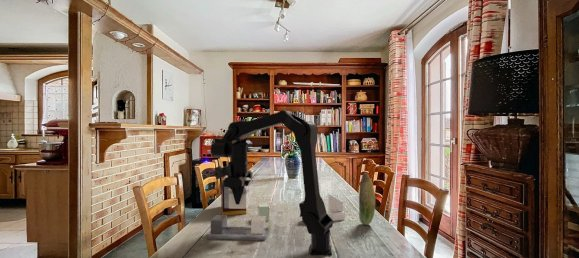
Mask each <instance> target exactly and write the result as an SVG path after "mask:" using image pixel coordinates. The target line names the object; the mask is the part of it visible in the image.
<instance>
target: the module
mask: <svg viewBox="0 0 579 258" xmlns="http://www.w3.org/2000/svg"><path fill="white" fill-rule="evenodd" d="M249 192H250V191H249V185H248V186H245V189H244V191H243V194H242V197H241V200H240V203H239V204H236V203H235V199H234V196H233V192H232V190H231V189H230V188H229V208H231V209H246V210H247V209H248V207H249V205H250V204H249V201H250V200H249Z"/></svg>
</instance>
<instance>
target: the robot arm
mask: <svg viewBox="0 0 579 258" xmlns="http://www.w3.org/2000/svg"><path fill="white" fill-rule="evenodd" d="M280 125H284V126H285V127H286V128H287V130H289V131H291V132H292V133H293V134H294V140H295V143H296V144H297V146H298V149H299V150H300V157H301V168H302V178H303V179H302V180H303V189H304V200H303V201H301V202H299V203H298V206H299V210H300V211H299V212H300V214H299V218H301V220H302V223H303V224H304V225H305V226H306V231H307V233H308V235H309V234H310V237H311V239H310V244H309V255H313V256H314V255H316V256H317V255H318V256H319V255H320V256H322V255H324V256H332V255H333V251H332V247H331V230H330V229H331V228H332V227H333V225H334V222H335V221H333V220H332V219H331V218H330V217H329V215H328V212H327V209H326V205H325V203H324V200H323V198H322V196H321V194H320V187H319V186H320V185H319V175H318V164H317V155H316V147H317V144H318V140H319V139H318V138H319V136H318V135H319V128H318V126H317V124H316V123H315V122H313V121H307V120H305V119H303V118H301V117H299V116H297V115H295V114H294V113H293V112H292V111H289V110H285V109H283V110H280V111H278V112H274V113H272V114H268V115H265V116H262V117H258V118H255V119H252V120H245V121H244V120H243V121H232V122H230V123H229V125H228V127H227V130H226V132H225V133H224V135H223V136H222V137H221V138H220V137H219V138H218V137H217V138H214V141H213V142H212V144H211V147H210V155H212V156H213V157H215V158H230V161H228V163H227V165H226V166H223V167H222V166H220V165H219V166H216V167H214V171H213V176H214V177H215V179H216V180H220V179H221V177H224V176H227V175H228V177H227V178H225V179H224V180H223V187H229V188H230V189H231V190H232V192H233V196H234V199H235V203H236V204H239V203H240V200H241V197H242V194H243V191H244V189H245V186H249V184H250V183H251V179H253V172H252V171H251V170H249V169H248V164H249V159H248V146H253V142H252V140H251V141H250V139H249V138H248V137H250V136H253V135H254V134H255V133H256V132H258V131H263V130H266V129H270V128H274V127H276V126H280ZM247 178H249V179H247Z"/></svg>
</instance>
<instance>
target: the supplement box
mask: <svg viewBox="0 0 579 258" xmlns="http://www.w3.org/2000/svg"><path fill="white" fill-rule="evenodd" d="M227 177H228V175H227V176H224V177H221V178H220V179H221V180H220V181H221V184H220V185H221V188H220V189H221V191H220V192H221V193H220V194H221V199H220V200H221V204H220V205H221V206H220V208H221V215H227V216H232V215H233V216H234V215H246V214H247V208H246V209H231V208H229V187H223V180H224V179H225V178H227Z"/></svg>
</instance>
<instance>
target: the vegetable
mask: <svg viewBox="0 0 579 258" xmlns="http://www.w3.org/2000/svg"><path fill="white" fill-rule="evenodd" d="M358 196H359V197H358V202H359V203H358V204H359V206H358V208H359V209H358V213H359V214H358V217H359V221H360V223H361V224H362V225H364V226H367V225H370V224H372V221H373V220H374V216H375V209H376V193H375V188H374V184H373V181H372V179H371V178H370V175H369V174H368V173H366V172H365V173H362V175H361V180H360V182H359V191H358Z"/></svg>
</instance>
